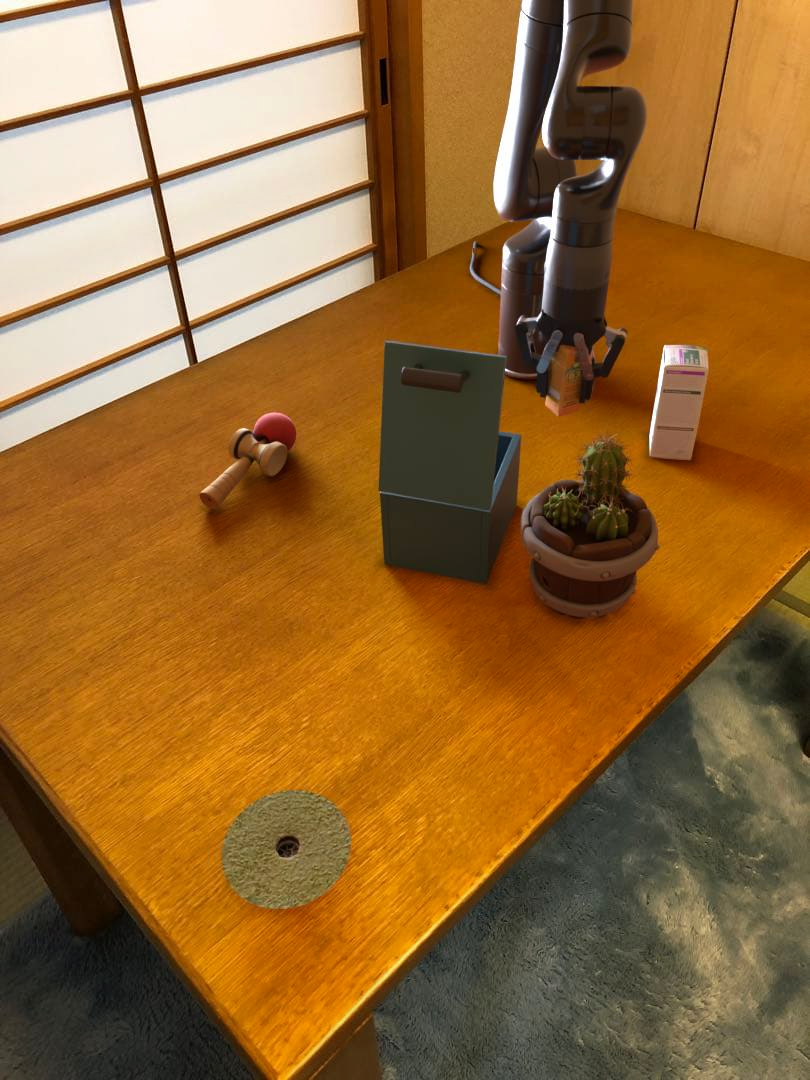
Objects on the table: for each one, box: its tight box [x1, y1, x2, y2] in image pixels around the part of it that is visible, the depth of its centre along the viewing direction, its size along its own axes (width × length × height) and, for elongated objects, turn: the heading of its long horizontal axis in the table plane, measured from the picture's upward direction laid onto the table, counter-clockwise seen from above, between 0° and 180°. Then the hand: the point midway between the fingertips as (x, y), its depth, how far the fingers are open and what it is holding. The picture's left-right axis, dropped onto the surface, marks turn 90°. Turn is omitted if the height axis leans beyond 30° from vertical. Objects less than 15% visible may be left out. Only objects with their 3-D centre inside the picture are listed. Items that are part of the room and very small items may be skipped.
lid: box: [378, 340, 507, 510], centre depth 91 cm, size 17×13×5 cm
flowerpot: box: [520, 429, 660, 620], centre depth 95 cm, size 14×15×20 cm
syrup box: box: [649, 344, 710, 461], centre depth 118 cm, size 6×6×14 cm
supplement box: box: [545, 345, 584, 418], centre depth 112 cm, size 3×3×10 cm
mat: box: [220, 789, 352, 910], centre depth 77 cm, size 11×11×2 cm
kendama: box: [199, 412, 297, 511], centre depth 119 cm, size 8×6×18 cm
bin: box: [379, 430, 522, 586], centre depth 106 cm, size 16×13×11 cm
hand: (563, 396), depth 114 cm, fingers closed on supplement box, 4 cm apart
